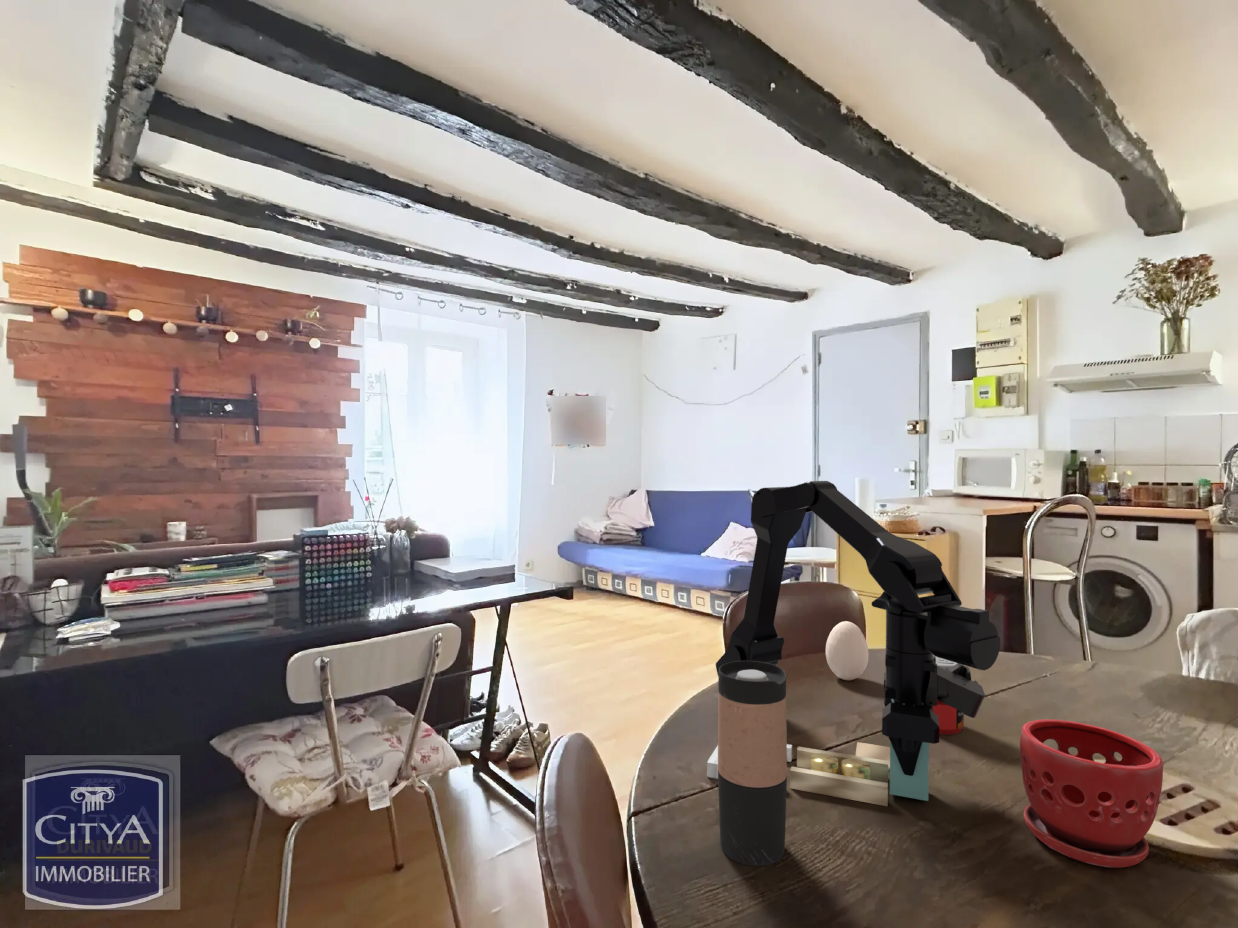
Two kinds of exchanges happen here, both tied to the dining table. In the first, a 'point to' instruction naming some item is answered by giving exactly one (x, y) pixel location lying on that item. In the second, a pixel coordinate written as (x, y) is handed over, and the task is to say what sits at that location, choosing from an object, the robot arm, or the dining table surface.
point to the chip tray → (713, 762)
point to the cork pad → (873, 752)
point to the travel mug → (752, 761)
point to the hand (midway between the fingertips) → (908, 767)
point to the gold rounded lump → (824, 763)
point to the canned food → (948, 709)
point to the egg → (847, 651)
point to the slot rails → (841, 778)
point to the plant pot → (1090, 791)
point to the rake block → (910, 784)
